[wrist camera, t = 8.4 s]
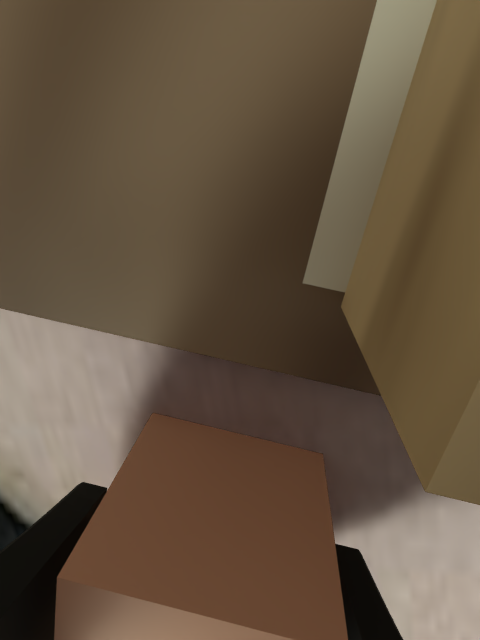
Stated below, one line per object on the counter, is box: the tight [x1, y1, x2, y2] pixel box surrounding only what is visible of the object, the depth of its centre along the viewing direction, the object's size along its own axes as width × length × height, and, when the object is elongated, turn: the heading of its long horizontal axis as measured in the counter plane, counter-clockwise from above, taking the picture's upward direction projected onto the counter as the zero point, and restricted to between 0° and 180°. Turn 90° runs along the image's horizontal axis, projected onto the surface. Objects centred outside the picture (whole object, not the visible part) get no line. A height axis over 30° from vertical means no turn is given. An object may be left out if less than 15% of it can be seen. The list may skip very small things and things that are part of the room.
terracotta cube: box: [54, 413, 348, 640], centre depth 9 cm, size 4×4×4 cm
